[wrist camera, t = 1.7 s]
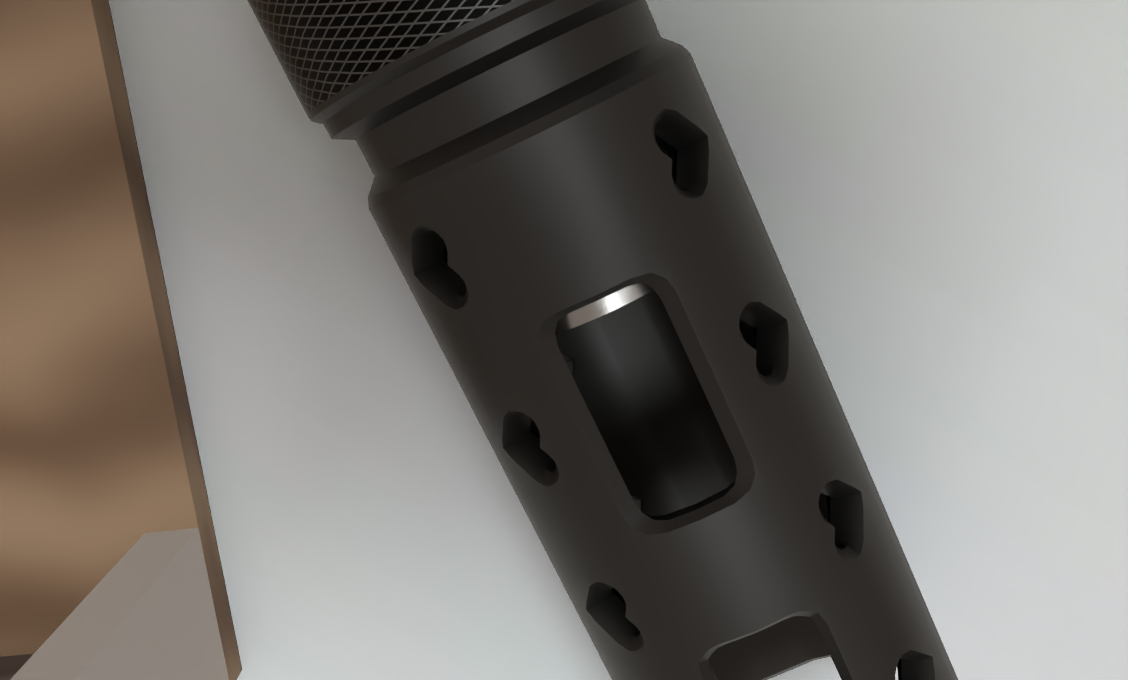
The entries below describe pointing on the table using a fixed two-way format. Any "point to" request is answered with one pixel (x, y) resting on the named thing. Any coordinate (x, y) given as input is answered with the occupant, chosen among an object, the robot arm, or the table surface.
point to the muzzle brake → (618, 329)
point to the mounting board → (82, 335)
